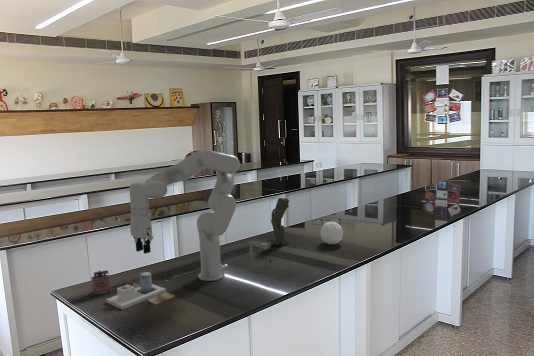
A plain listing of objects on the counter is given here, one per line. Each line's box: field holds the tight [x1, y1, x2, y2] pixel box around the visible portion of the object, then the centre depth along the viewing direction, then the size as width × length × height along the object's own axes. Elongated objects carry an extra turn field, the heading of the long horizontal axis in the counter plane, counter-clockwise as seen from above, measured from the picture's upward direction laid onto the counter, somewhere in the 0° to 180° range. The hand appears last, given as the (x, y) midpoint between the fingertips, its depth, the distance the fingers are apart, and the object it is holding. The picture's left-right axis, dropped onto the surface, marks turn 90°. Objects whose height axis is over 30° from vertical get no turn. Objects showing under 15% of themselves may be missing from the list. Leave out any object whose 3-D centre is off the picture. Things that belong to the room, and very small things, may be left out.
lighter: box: [90, 269, 113, 295], centre depth 202 cm, size 8×3×10 cm, turn 106°
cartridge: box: [138, 271, 153, 295], centre depth 200 cm, size 5×5×9 cm
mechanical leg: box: [270, 197, 290, 248], centre depth 264 cm, size 13×7×29 cm, turn 130°
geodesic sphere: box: [319, 220, 344, 245], centre depth 264 cm, size 14×14×14 cm
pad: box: [146, 291, 176, 306], centre depth 193 cm, size 10×6×1 cm, turn 140°
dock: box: [106, 283, 167, 310], centre depth 196 cm, size 22×12×6 cm, turn 140°
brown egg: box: [121, 284, 129, 290], centre depth 192 cm, size 3×3×4 cm
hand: (143, 251), depth 197 cm, fingers open, 4 cm apart
